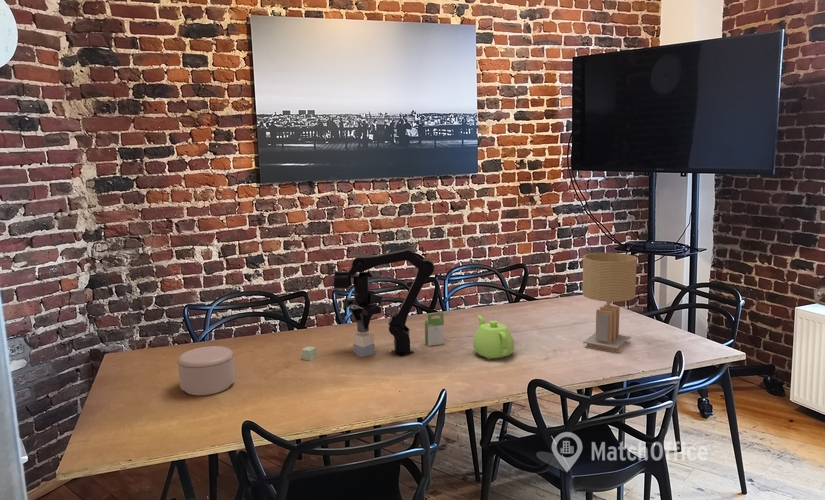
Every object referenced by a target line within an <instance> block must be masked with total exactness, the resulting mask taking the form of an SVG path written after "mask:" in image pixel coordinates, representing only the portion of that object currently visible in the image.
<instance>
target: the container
mask: <svg viewBox="0 0 825 500" xmlns="http://www.w3.org/2000/svg"><path fill="white" fill-rule="evenodd" d="M234 360H235V359H234V352H233V351H232V349H230V348H228V347H225V346H220V345H219V346H218V345H217V346H216V345H215V346H214V345H213V346H212V345H211V346H202V347H197V348H193V349H191V350H187V351H185V352H183V353H182V354H181V355H180V356H179V357H178V358H177V366H178V367H177V368H178V369H177V370H178V378H179V388H180V390H182V391H183V392H186V393H187V394H189V395H192V396H208V395H213V394H218V393H221V392H224V391H225V390H227V389H229V388H230V386H232V384H233V383H234V382H235V381H236V373H235V361H234Z"/></svg>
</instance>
